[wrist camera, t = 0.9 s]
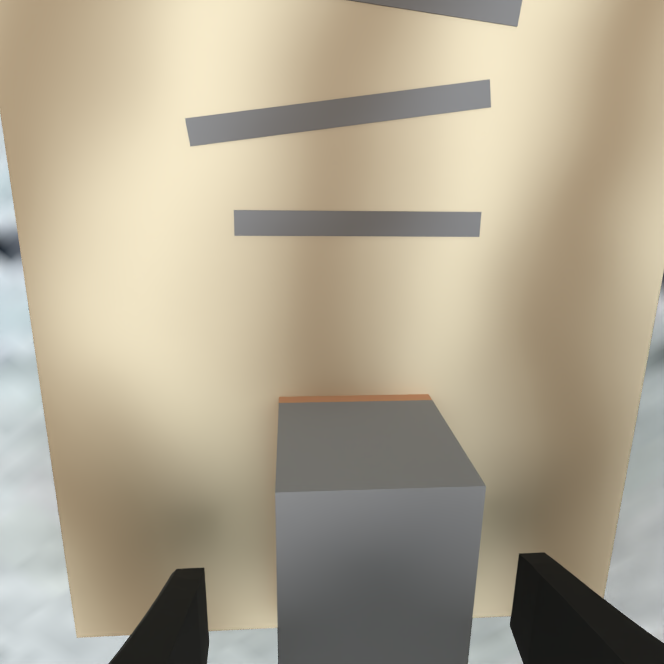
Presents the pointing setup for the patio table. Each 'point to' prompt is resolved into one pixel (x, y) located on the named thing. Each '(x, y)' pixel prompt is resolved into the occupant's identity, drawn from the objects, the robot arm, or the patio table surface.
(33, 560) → the patio table surface
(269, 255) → the board
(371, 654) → the block
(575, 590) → the robot arm
